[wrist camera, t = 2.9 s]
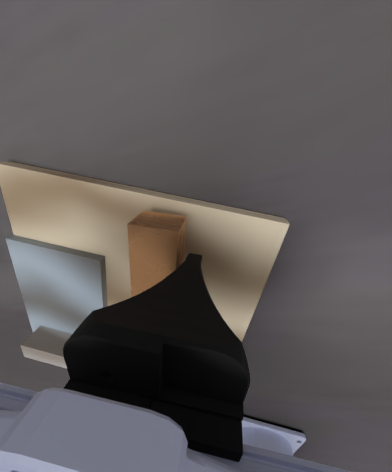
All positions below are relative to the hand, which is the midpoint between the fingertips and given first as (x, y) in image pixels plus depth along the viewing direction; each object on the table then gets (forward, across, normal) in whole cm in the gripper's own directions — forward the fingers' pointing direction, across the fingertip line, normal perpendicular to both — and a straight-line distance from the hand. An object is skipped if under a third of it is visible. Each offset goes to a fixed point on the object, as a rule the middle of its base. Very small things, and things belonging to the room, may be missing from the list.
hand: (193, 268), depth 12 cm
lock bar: (0, +2, +4) cm, 4 cm away
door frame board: (+2, +5, +6) cm, 8 cm away
